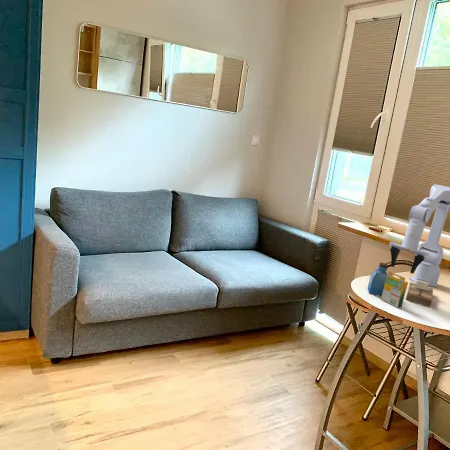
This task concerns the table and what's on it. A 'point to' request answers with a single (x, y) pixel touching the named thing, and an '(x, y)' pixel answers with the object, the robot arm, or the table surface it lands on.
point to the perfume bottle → (378, 280)
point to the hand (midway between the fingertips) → (401, 269)
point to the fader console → (419, 295)
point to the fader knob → (422, 284)
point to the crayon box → (394, 290)
